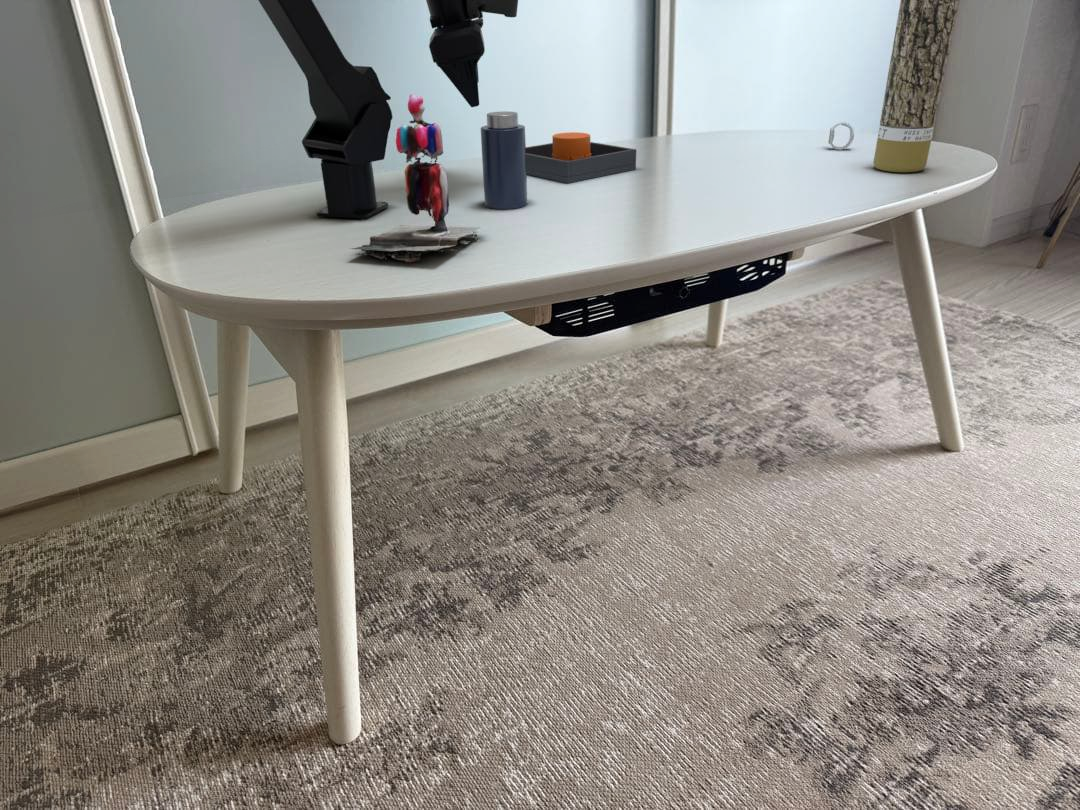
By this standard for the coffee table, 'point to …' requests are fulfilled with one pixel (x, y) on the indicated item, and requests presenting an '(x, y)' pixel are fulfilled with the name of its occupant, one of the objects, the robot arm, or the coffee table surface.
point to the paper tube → (914, 83)
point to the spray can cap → (571, 146)
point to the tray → (579, 163)
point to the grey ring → (833, 135)
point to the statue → (420, 194)
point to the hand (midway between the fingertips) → (475, 94)
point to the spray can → (504, 161)
